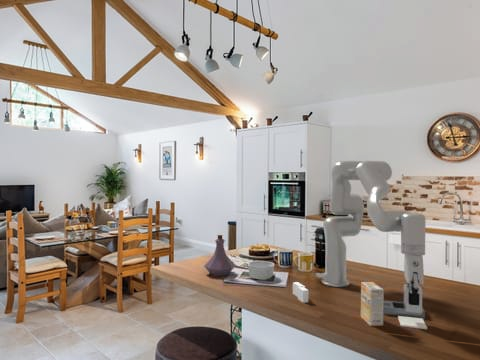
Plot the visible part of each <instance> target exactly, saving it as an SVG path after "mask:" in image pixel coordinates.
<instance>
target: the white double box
mask: <svg viewBox="0 0 480 360" xmlns="http://www.w3.org/2000/svg"><path fill="white" fill-rule="evenodd" d="M292 294H293V295H294V296H295V297H297V300H298V301H300V302H301V303H303V304H304V303H309V289H307V288H306V286H305V285H304V284H302V283H300V282H298V281H295V282H292Z"/></svg>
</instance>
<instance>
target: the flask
mask: <svg viewBox="0 0 480 360" xmlns="http://www.w3.org/2000/svg"><path fill="white" fill-rule="evenodd" d="M225 241H226V240H225V239H223V234H217V239H215V241H214V242H215V244H216V246H215V250H214V253H213V255H212V256H211V258H210V259H209V260H208V261H207V262H206V263H205V264H204V266H203V267H204V268H205V269H206V270H207V271H208V272H209V274H210V275H211V276H214V277H224V275H225V276H228V275H227V274H228V273H229V272H231V271H232V270H233V269H234V268H235V266H236V264H235V263H234V262H233V260H231V258H230V257H229V256H228V255H227V253H226V251H225V250H226V249H225V245H224V243H225ZM229 274H230V273H229Z"/></svg>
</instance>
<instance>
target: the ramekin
mask: <svg viewBox="0 0 480 360" xmlns="http://www.w3.org/2000/svg"><path fill="white" fill-rule="evenodd" d="M247 266H248V274H249V275H248V276H249V277H250V278H251V277H252V278H256V279H268V278H271V277H272V276H274V271H275V270H274V269H275V263H274V262H272V261H266V260H252V261H250V262H248V263H247ZM252 278H251V279H252ZM272 278H273V277H272ZM272 278H271V279H272Z"/></svg>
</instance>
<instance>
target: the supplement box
mask: <svg viewBox="0 0 480 360" xmlns="http://www.w3.org/2000/svg"><path fill="white" fill-rule="evenodd" d="M384 293H385V291H384V288H383V287H381V286H379V285H378V284H376V283H375V282H373V281H361V282H360V318H362V319H363V321H365V323H367V324H368V326H370V327H376V326H377V327H380V326H381V327H382V326H384V314H383V301H385V299H384V298H385V297H384Z"/></svg>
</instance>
